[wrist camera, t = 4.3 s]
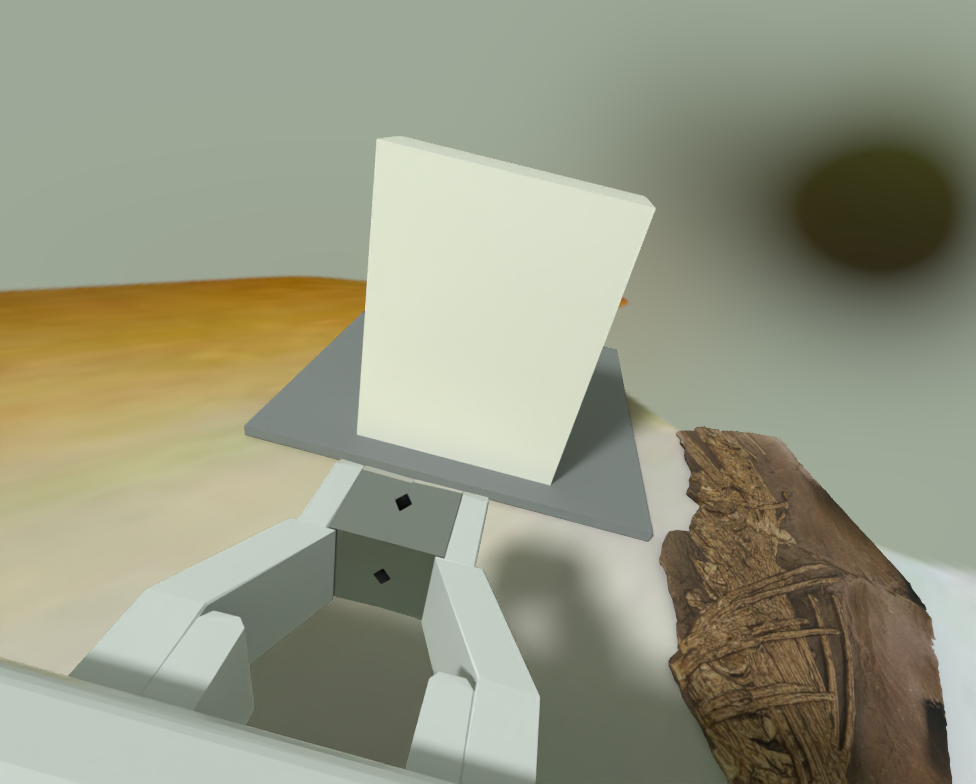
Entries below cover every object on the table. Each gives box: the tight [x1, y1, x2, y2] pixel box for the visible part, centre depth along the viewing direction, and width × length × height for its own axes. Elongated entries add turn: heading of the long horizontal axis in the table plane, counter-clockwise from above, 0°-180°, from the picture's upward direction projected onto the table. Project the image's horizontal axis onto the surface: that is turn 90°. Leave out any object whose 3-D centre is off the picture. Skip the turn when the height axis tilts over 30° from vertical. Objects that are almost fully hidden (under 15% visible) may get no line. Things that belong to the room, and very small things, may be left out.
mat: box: [244, 311, 653, 541], centre depth 28 cm, size 18×18×1 cm
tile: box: [357, 136, 655, 485], centre depth 19 cm, size 9×3×12 cm, turn 81°
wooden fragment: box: [659, 426, 952, 784], centre depth 19 cm, size 26×11×1 cm, turn 156°
